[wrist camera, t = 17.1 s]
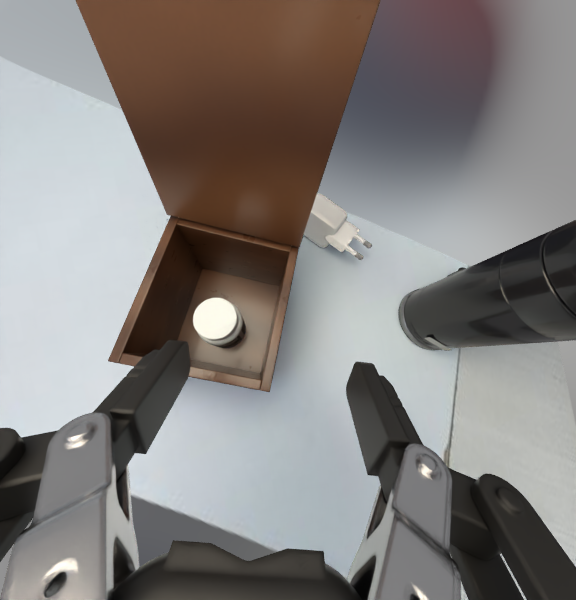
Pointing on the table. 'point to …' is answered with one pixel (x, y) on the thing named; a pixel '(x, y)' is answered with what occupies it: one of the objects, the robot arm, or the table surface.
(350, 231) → the power adapter
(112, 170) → the table surface
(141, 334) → the supply box
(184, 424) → the table surface
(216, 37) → the lid
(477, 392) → the table surface
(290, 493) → the table surface
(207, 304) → the pill bottle
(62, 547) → the robot arm
